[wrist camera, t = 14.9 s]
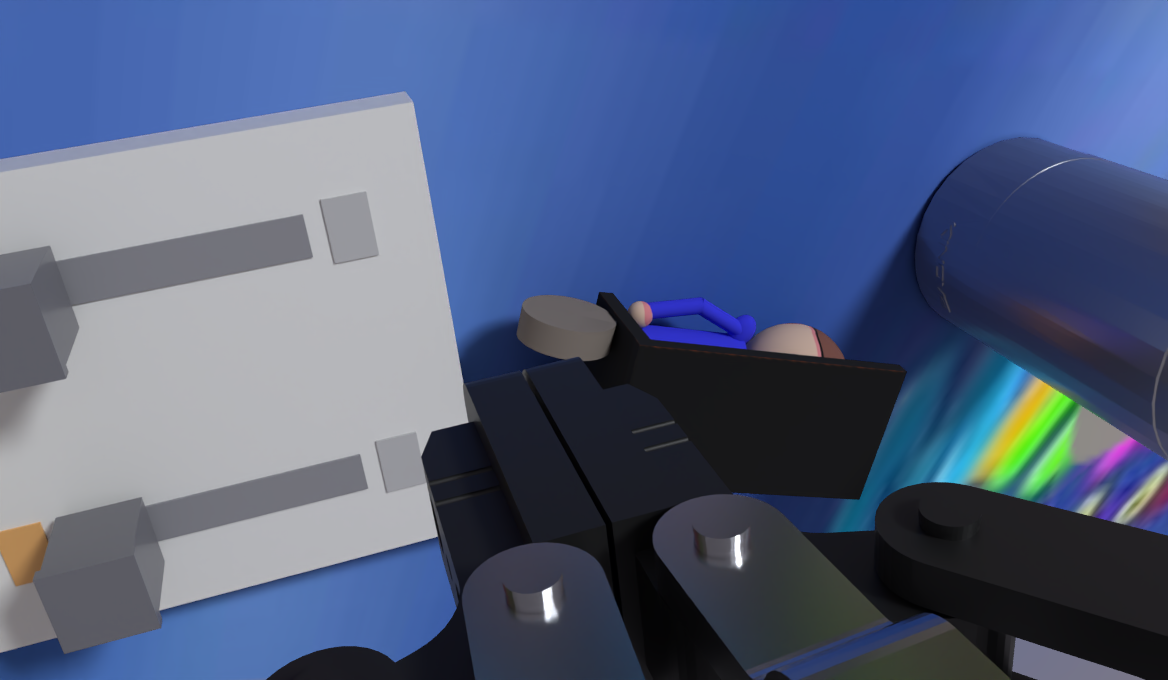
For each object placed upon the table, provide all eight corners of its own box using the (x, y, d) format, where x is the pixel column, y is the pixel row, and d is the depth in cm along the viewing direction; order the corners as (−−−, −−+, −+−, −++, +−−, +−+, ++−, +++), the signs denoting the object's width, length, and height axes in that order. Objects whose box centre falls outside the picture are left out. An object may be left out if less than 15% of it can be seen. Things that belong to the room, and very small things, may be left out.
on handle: (143, 493, 38) (134, 554, 35) (168, 562, 39) (161, 628, 36) (51, 516, 37) (32, 580, 34) (80, 585, 39) (64, 653, 35)
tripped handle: (52, 242, 33) (30, 283, 30) (83, 329, 35) (66, 379, 32) (-54, 261, 33) (-89, 306, 29) (-18, 350, 34) (-47, 403, 31)
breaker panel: (405, 91, 37) (413, 102, 35) (479, 498, 45) (489, 524, 43) (-245, 200, 33) (-274, 219, 31) (-36, 631, 41) (-49, 667, 39)
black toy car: (484, 401, 45) (801, 428, 49) (503, 492, 38) (870, 516, 42) (508, 255, 43) (839, 296, 46) (533, 324, 36) (920, 365, 39)
